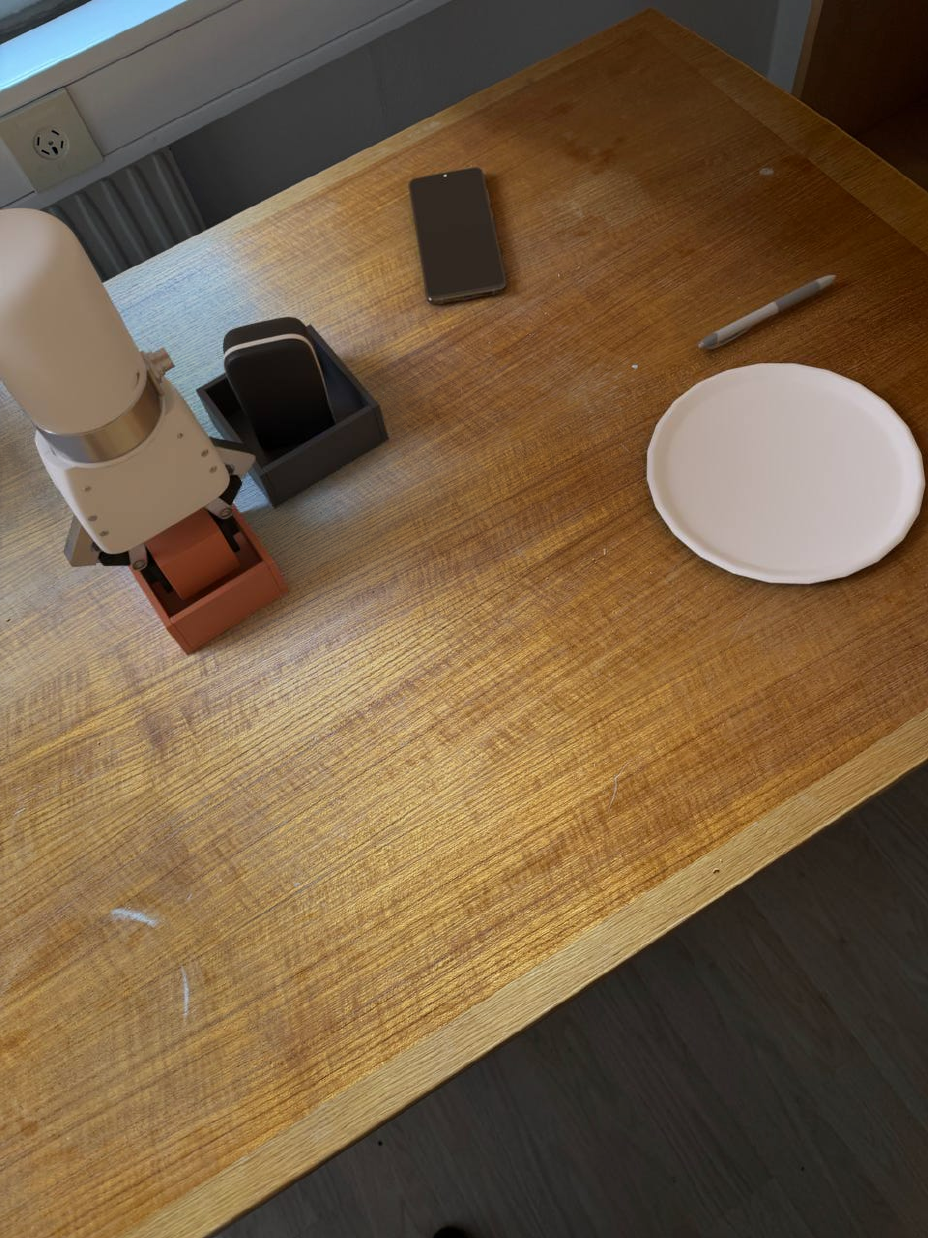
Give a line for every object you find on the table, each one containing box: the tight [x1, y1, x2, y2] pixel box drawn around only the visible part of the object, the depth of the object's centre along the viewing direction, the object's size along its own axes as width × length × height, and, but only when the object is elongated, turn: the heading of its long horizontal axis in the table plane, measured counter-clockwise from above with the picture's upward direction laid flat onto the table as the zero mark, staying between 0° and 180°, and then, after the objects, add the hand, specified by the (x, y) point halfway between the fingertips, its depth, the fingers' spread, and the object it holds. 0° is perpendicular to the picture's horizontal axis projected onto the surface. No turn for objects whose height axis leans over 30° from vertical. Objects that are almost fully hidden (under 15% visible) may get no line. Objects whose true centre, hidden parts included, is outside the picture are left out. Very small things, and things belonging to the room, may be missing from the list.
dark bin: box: [195, 323, 390, 509], centre depth 86 cm, size 11×11×4 cm
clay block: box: [145, 507, 240, 600], centre depth 77 cm, size 5×5×5 cm
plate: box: [646, 362, 926, 586], centre depth 80 cm, size 21×21×1 cm
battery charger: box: [222, 316, 337, 450], centre depth 83 cm, size 7×4×11 cm, turn 101°
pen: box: [697, 274, 837, 350], centre depth 88 cm, size 1×14×1 cm, turn 119°
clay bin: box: [127, 502, 290, 655], centre depth 80 cm, size 9×9×4 cm
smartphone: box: [408, 166, 508, 306], centre depth 96 cm, size 7×1×16 cm
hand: (195, 557), depth 79 cm, fingers closed on clay block, 5 cm apart
